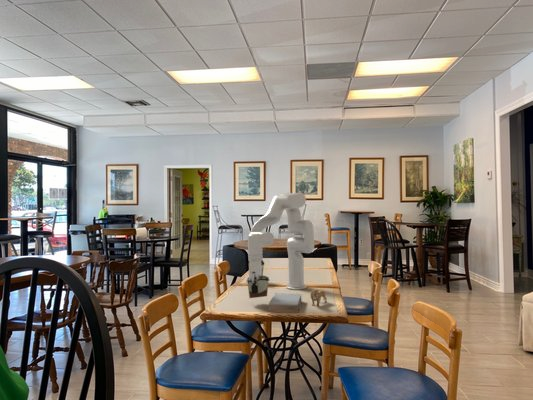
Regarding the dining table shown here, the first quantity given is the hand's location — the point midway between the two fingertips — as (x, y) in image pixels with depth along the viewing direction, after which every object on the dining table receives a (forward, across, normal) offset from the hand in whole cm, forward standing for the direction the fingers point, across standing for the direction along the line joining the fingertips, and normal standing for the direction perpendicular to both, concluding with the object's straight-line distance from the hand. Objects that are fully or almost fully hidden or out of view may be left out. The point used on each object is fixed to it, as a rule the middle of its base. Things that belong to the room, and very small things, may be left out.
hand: (256, 290), depth 182 cm
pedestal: (+7, +2, +16) cm, 17 cm away
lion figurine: (+8, -4, +32) cm, 33 cm away
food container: (+3, -1, 0) cm, 3 cm away
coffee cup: (+8, -49, -11) cm, 51 cm away
